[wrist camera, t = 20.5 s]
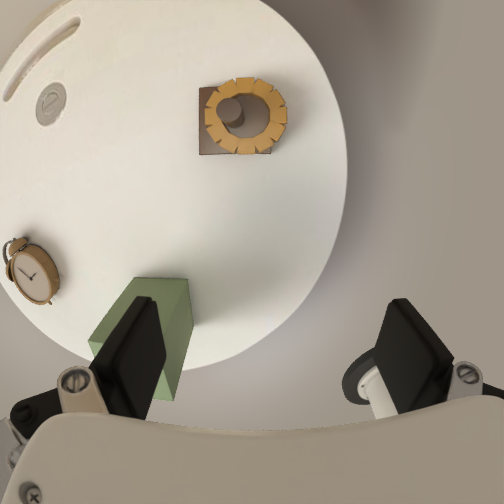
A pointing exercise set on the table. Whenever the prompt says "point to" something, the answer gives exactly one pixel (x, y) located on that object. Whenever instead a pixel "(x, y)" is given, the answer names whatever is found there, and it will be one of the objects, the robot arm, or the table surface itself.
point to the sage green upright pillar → (171, 319)
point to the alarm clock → (31, 271)
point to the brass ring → (247, 89)
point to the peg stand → (232, 120)
